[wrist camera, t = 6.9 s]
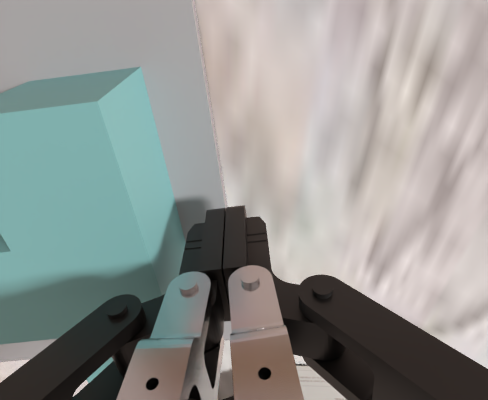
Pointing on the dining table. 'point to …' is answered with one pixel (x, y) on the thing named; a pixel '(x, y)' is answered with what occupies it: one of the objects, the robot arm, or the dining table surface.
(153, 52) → the slot board
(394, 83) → the dining table surface
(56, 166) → the tee block
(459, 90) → the dining table surface
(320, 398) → the supplement box
